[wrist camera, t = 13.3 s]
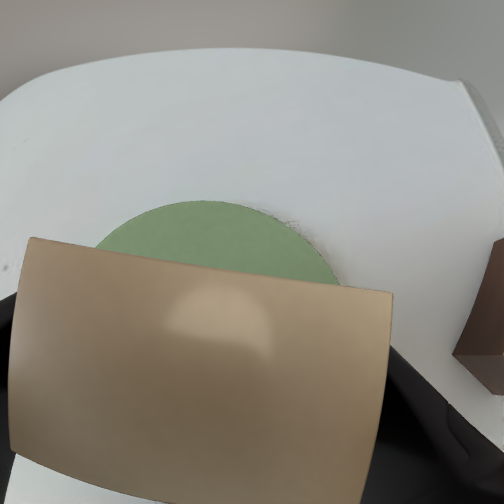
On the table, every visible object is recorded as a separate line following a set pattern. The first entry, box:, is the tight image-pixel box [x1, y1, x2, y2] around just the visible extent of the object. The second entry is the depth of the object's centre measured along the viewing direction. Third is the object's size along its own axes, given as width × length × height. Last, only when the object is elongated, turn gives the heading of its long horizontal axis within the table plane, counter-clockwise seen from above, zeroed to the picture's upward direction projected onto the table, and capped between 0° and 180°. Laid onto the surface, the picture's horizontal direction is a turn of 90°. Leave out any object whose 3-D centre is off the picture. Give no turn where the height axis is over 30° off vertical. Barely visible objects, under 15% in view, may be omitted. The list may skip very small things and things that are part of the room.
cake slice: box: [8, 237, 393, 504], centre depth 9 cm, size 4×6×10 cm, turn 83°
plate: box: [96, 201, 339, 285], centre depth 14 cm, size 15×15×1 cm
